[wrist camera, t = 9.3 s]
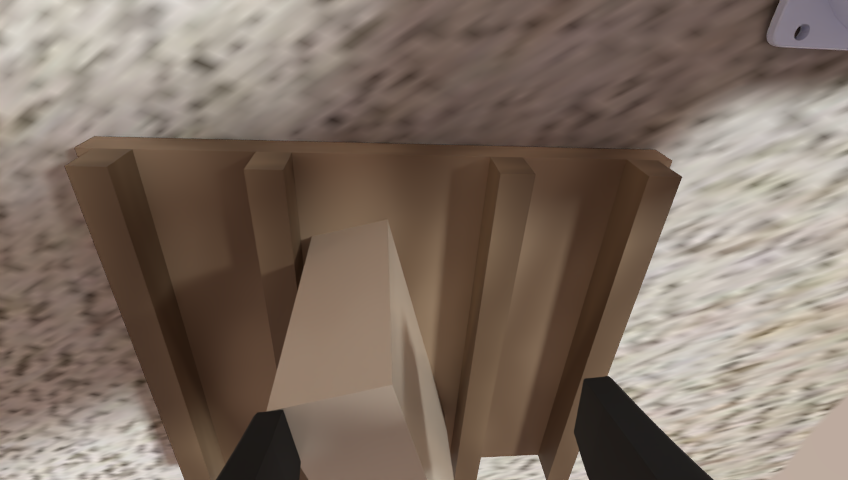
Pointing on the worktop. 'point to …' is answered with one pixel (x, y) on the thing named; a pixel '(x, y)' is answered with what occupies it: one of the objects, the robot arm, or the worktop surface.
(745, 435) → the worktop surface
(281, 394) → the beige rectangular board
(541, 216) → the rack
